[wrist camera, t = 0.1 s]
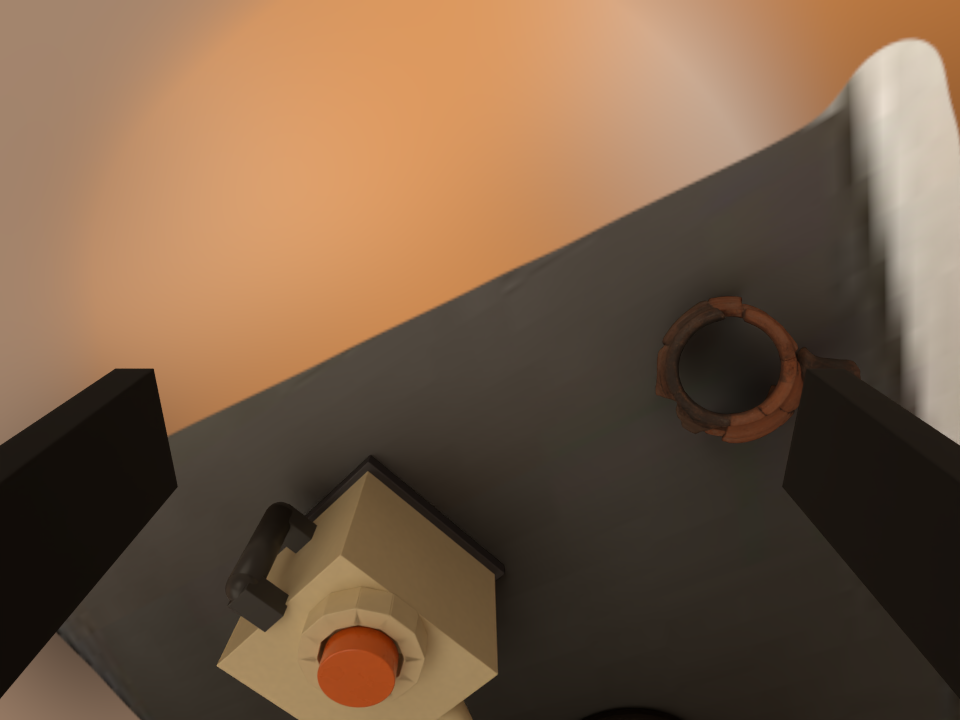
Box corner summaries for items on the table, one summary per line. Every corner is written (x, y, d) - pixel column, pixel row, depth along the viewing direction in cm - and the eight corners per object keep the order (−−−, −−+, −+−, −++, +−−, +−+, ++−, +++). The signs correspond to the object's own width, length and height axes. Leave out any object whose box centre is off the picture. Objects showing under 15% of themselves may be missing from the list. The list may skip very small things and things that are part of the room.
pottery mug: (664, 442, 45) (659, 451, 37) (651, 314, 46) (643, 297, 38) (851, 432, 41) (889, 439, 33) (833, 293, 42) (866, 268, 34)
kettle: (496, 564, 48) (500, 698, 37) (392, 648, 51) (367, 795, 40) (371, 462, 45) (335, 574, 34) (268, 558, 48) (203, 690, 37)
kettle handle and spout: (531, 587, 49) (545, 710, 39) (419, 675, 52) (404, 810, 42) (338, 428, 44) (295, 521, 34) (227, 536, 47) (157, 651, 37)
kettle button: (414, 654, 36) (411, 679, 35) (365, 693, 37) (359, 719, 36) (357, 613, 35) (352, 637, 33) (308, 654, 36) (300, 679, 35)
